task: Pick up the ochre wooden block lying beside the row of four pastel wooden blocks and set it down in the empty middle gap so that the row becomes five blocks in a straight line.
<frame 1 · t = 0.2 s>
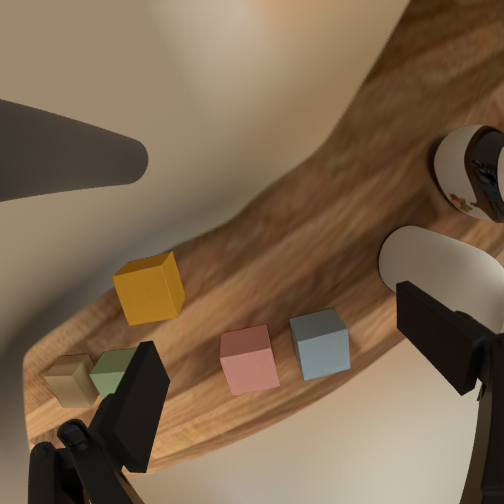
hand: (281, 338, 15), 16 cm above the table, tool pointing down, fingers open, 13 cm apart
milk bottle: (404, 257, 32), on the table
birch block: (82, 370, 33), on the table
dusty pink block: (248, 347, 33), on the table
sage block: (128, 366, 33), on the table
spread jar: (464, 168, 29), on the table
blue-grey block: (314, 332, 33), on the table
ochre block: (157, 279, 30), on the table
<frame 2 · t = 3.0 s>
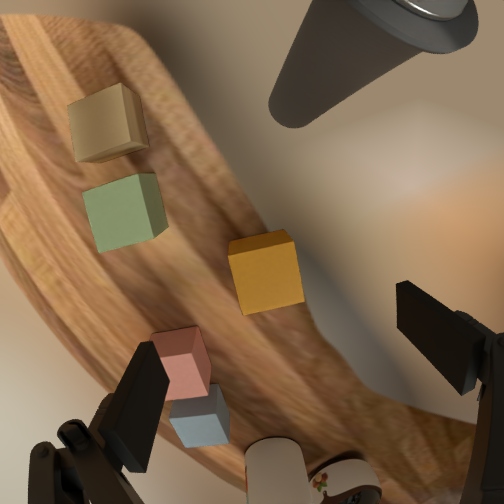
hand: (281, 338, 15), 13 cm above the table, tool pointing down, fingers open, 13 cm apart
milk bottle: (272, 451, 35), on the table
birch block: (119, 129, 24), on the table
dusty pink block: (182, 350, 30), on the table
sage block: (136, 207, 26), on the table
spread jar: (338, 473, 37), on the table
blue-grey block: (203, 401, 32), on the table
ochre block: (262, 261, 28), on the table
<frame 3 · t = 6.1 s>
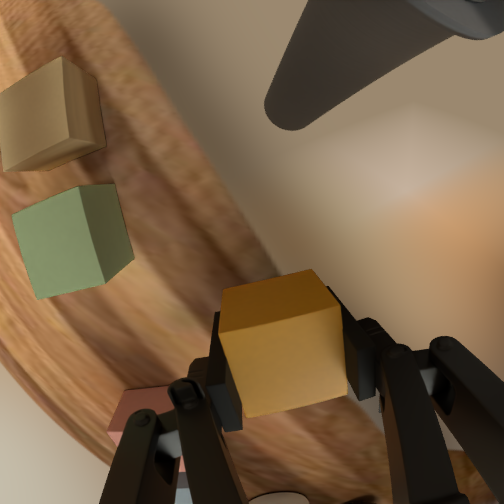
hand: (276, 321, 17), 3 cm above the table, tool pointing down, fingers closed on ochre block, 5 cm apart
milk bottle: (276, 503, 26), on the table
birch block: (69, 124, 16), on the table
dusty pink block: (163, 409, 21), on the table
sage block: (91, 231, 18), on the table
blue-grey block: (193, 461, 23), on the table
ochre block: (276, 318, 17), point 3 cm above the table, touching gripper
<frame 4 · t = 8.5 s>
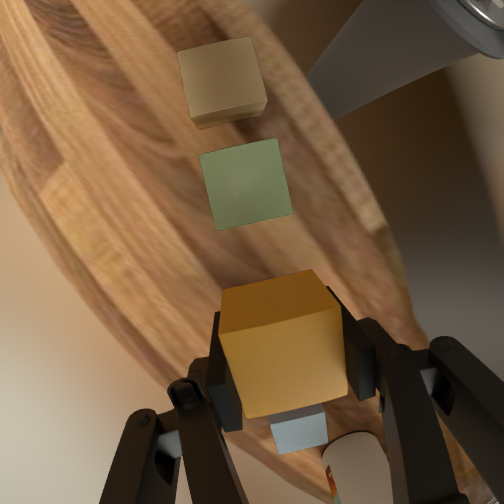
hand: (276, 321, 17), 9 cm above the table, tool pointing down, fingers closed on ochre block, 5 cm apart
milk bottle: (348, 447, 32), on the table
birch block: (223, 93, 22), on the table
sage block: (244, 182, 23), on the table
blue-grey block: (292, 402, 29), on the table
ochre block: (276, 319, 17), point 9 cm above the table, touching gripper
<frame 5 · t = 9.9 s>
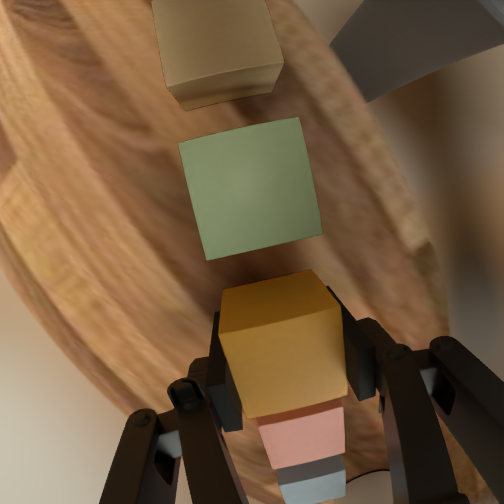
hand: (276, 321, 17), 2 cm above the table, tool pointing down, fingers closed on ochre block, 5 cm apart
milk bottle: (363, 485, 25), on the table
birch block: (219, 63, 15), on the table
dusty pink block: (293, 393, 20), on the table
sage block: (248, 184, 17), on the table
blue-grey block: (304, 449, 22), on the table
ochre block: (276, 319, 17), point 2 cm above the table, touching gripper
when the fingers open (0 cm above the table, at t = 10.8 s): ochre block stays where it is, on the table.
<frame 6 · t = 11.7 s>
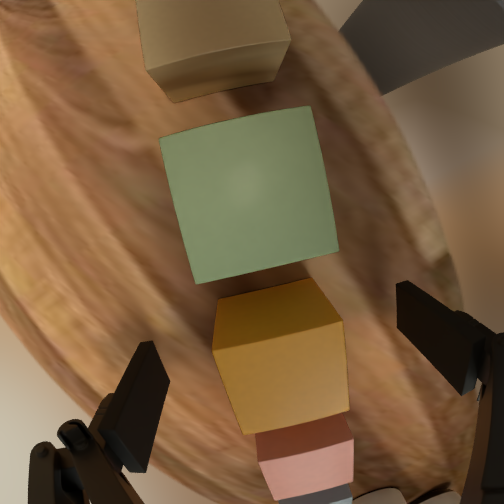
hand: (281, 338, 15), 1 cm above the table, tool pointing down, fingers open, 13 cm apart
milk bottle: (368, 502, 23), on the table
birch block: (213, 48, 12), on the table
dusty pink block: (296, 418, 18), on the table
sage block: (246, 188, 14), on the table
blue-grey block: (307, 472, 20), on the table
ochre block: (274, 329, 16), on the table
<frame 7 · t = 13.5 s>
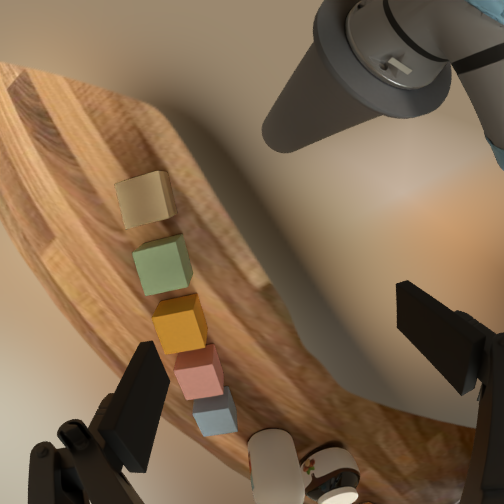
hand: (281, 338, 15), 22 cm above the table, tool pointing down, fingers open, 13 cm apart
milk bottle: (269, 440, 44), on the table
birch block: (152, 197, 34), on the table
dusty pink block: (201, 361, 39), on the table
sage block: (168, 258, 36), on the table
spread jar: (324, 461, 47), on the table
blue-grey block: (216, 400, 41), on the table
ochre block: (184, 315, 38), on the table
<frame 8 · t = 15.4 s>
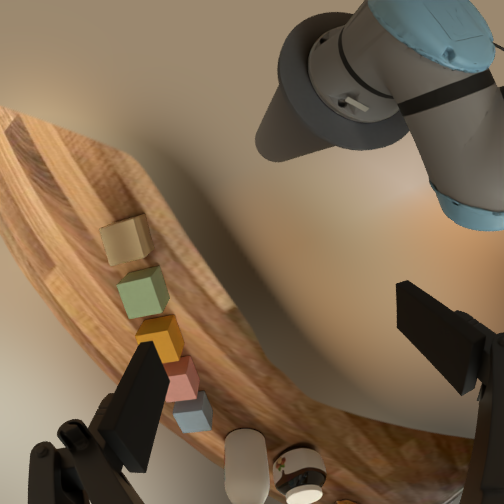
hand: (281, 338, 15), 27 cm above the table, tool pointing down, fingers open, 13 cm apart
milk bottle: (244, 439, 50), on the table
birch block: (133, 235, 40), on the table
dusty pink block: (180, 370, 45), on the table
sage block: (148, 285, 42), on the table
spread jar: (297, 459, 53), on the table
blue-grey block: (195, 402, 47), on the table
ochre block: (164, 331, 44), on the table
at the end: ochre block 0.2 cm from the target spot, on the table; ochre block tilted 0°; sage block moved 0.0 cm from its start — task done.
